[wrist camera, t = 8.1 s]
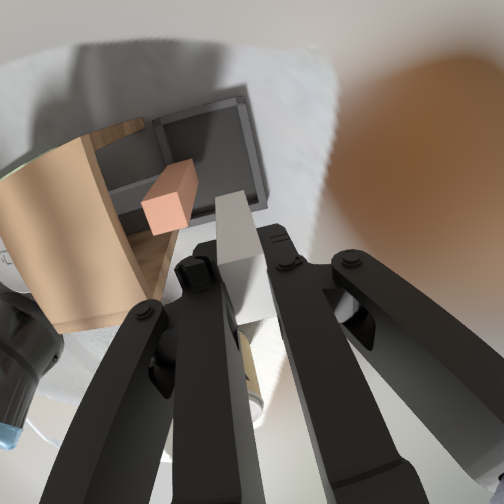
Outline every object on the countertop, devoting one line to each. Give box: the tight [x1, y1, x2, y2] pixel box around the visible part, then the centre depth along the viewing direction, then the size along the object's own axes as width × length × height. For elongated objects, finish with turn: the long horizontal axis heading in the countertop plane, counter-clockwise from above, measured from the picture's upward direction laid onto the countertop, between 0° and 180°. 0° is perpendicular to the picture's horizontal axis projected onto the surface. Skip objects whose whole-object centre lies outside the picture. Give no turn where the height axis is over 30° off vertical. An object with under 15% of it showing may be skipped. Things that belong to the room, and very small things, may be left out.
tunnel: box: [0, 117, 179, 334], centre depth 23 cm, size 10×13×14 cm
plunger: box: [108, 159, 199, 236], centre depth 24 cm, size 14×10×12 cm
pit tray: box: [152, 96, 268, 228], centre depth 28 cm, size 9×12×1 cm
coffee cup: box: [238, 331, 264, 422], centre depth 37 cm, size 9×9×12 cm
